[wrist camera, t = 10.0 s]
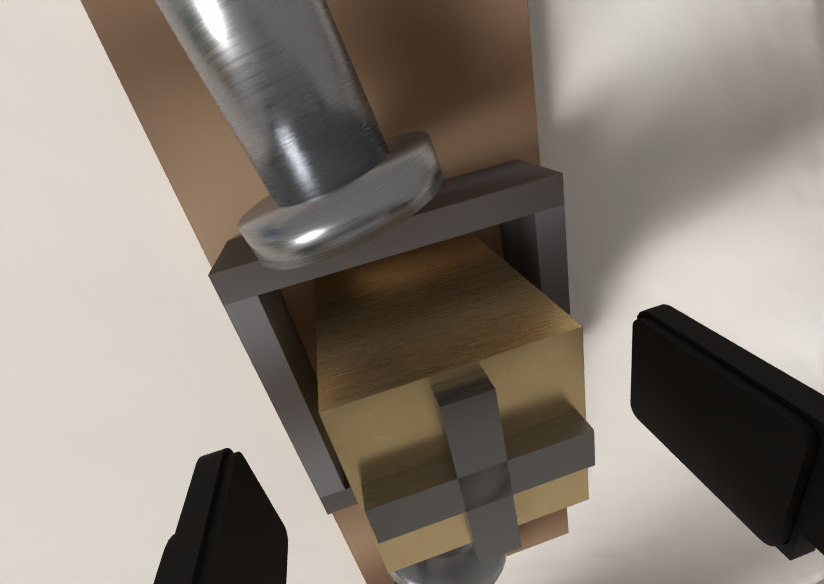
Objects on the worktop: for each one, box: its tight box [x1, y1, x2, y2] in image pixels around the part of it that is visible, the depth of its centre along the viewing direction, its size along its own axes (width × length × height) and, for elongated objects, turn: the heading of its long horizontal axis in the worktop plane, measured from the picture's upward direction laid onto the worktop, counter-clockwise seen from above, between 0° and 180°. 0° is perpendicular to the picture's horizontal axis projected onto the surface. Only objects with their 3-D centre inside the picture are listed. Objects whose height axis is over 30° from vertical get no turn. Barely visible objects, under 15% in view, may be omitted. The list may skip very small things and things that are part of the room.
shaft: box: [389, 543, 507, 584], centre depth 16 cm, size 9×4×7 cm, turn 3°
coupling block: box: [315, 233, 595, 574], centre depth 11 cm, size 5×5×7 cm
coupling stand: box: [81, 0, 570, 584], centre depth 13 cm, size 29×10×4 cm, turn 13°
